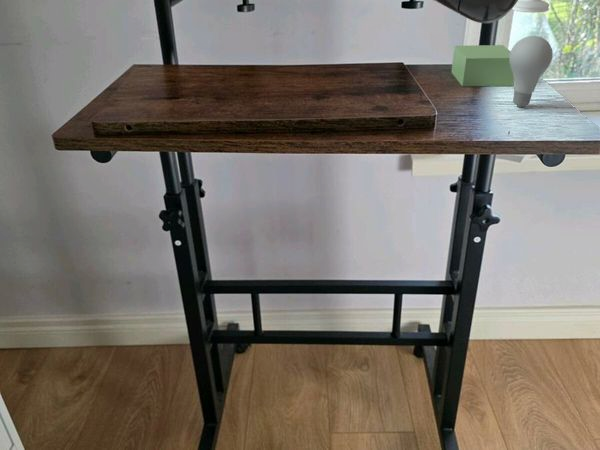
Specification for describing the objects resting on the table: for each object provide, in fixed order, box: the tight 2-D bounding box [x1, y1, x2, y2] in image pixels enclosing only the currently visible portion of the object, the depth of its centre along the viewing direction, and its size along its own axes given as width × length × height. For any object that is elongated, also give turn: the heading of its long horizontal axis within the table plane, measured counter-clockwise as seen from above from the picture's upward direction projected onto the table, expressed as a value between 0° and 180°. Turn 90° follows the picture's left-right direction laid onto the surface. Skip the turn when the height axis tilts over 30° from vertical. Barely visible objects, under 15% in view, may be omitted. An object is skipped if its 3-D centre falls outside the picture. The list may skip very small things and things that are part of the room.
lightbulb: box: [509, 35, 554, 108], centre depth 83 cm, size 6×6×11 cm
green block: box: [450, 44, 514, 87], centre depth 98 cm, size 9×9×5 cm
